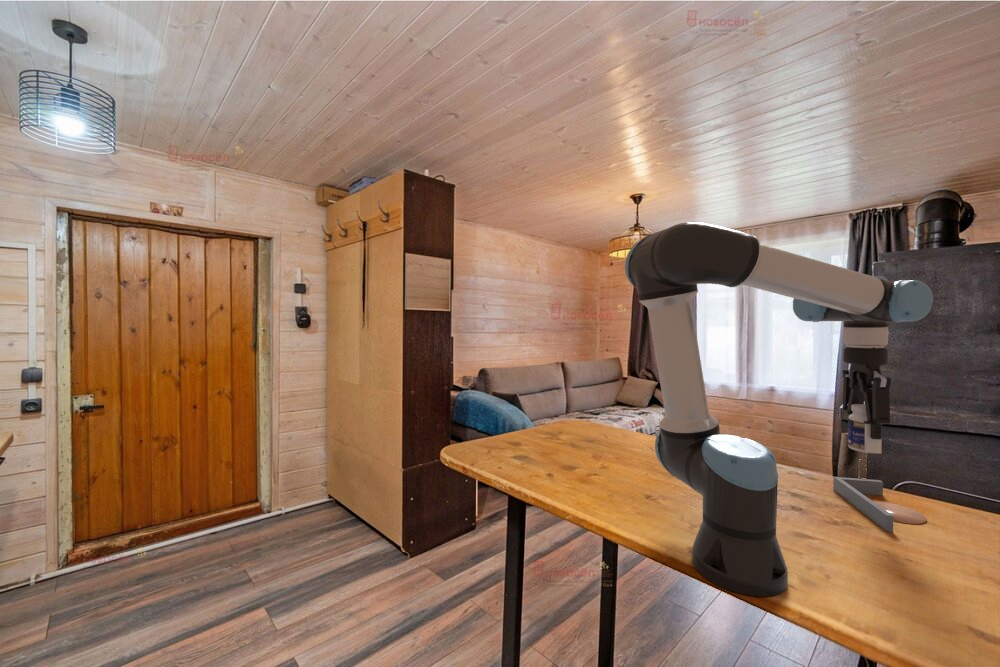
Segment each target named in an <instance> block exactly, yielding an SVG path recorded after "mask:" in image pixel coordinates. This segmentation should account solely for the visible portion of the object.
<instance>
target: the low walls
mask: <svg viewBox="0 0 1000 667" xmlns="http://www.w3.org/2000/svg"><path fill="white" fill-rule="evenodd" d="M832 481H833V486H832V487H833V491H834V492H836V494H838V495H839V496H840V497H842V498H843V499H844V500H846V501H847V502H848V503H849V504H851V505H852V506H853V507H854V508H856V510H859V512H861V513H862V514H863V515H865V516H866V517H867V518H868V519H870V520H871V521H873V523H875V524H876V525H877V526H878V527H880V528H881V529H882V530H884V531H885V532H889V533H894V521H893V515H891V514H890V513H889V512H887V511H886V510H884V509H883V508H882V507H880V506H879V505H877V504H876V503H875V502H876V501H873V500H871V499H870V498H869V497H867V496H866V495H870V496H873V495H874V496H884V493H883V492H884V482H883V481H882V480H879V479H868V478H857V477H856V478H855V477H854V478H853V477H852V478H851V477H840V476H833V480H832Z"/></svg>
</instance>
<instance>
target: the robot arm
mask: <svg viewBox="0 0 1000 667" xmlns="http://www.w3.org/2000/svg"><path fill="white" fill-rule="evenodd" d="M624 271H625V275H626V278H627V280H628V282H629V283H630V284H631V285H632V286H633V287H634V288H636V291H637V296H638V302H639V303H640V304H641V305H643V306H645V308H647V311H648V312H647V313H648V317H649V323H650V329H651V336H652V341H653V342H652V343H653V348H654V354H655V358H656V366H657V371H658V372H657V373H658V377H659V378H658V380H659V384H660V389H661V397H662V402H663V407H664V408H663V409H664V417H663V418H662V419H661V420H660V421H659V429H660V430H659V431H658V432H659V433H658V435H657V436H656V437H655V442H654V451H655V455H656V458H657V460H658V462H659V463H660V465H661V466H662V467H663V468H664V469H665V470H666V471H667V473H669V474H670V475H671V476H673V477H674V478H676V479H677V480H679V481H681V482H682V483H683V484H685V485H687V486H688V487H690V488H691V489H693V491H695V492H697V493H698V494H700V496H701V497H702V522H701V523H700V526H699V529H698V532H697V534H696V537H695V539H694V541H693V544H692V547H691V548H692V550H691V552H692V553H691V558H692V559H691V561H692V565H693V566H694V568H695V569H696V570H697V571H698V573H699V574H700V575H701V576H703V578H705V579H707V580H708V581H710V582H711V583H713V584H714V585H717V586H718V587H720V588H723V589H726V590H728V591H730V592H734V593H736V594H741V595H745V596H746V595H747V596H751V597H765V598H766V597H773V596H776V595H780V594H782V593H783V592H785V591H786V589H787V587H788V585H789V584H788V583H789V581H788V580H789V578H788V576H789V572H788V567H787V565H786V562H785V558H784V556H783V552H782V550H781V547H780V544H779V541H778V538H777V512H778V510H777V509H778V507H777V506H778V483H779V473H778V468H777V459H776V457H775V454H774V453H773V452H772V450H770V449H769V448H768V447H766V446H765V445H763V444H761V443H760V442H758V441H755V440H754V439H750V438H745V437H744V438H743V437H741V436H738V435H733V434H727V433H726V434H721V429H720V424H719V420H718V418H717V417H715V416H714V415H712V414H711V413H710V411H709V404H708V398H707V392H706V385H705V380H704V375H703V374H704V373H703V367H702V361H701V354H700V349H699V342H698V336H697V330H696V323H695V316H694V311H693V305H692V302H693V299H694V297H695V296H696V295H697V294H698V293H699V290H698V285H704V284H708V285H709V284H711V285H720V286H725V287H729V288H737V287H740V286H741V285H742V286H746V287H751V288H754V289H758V290H762V291H765V292H768V293H772V294H777V295H781V296H784V297H787V298H791V299H792V298H793V299H792V311H793V313H794V314H795V316H796V317H797V318H798V320H801V321H803V322H812V323H819V322H843V328H842V340H843V341H842V343H843V344H844V345H846V346H844V347H843V353H842V354H843V357H842V358H843V359H842V361H843V362H844V363H845V364H849V365H850V368H849V369H842V377H843V387H842V389H843V390H842V410H843V411H846V414H847V415H848V416H849V415H851V414H852V413H853V411H852V410H851V405H853V404H864V405H865V407H866V414H867V420H868V421H864V423H865V452H864V453H866V454H882V453H883V452H882V446H883V444H882V443H883V442H882V441H883V440H882V437H883V435H882V434H883V431H882V430H883V428H882V427H883V425H886V424H890V423H891V407H890V406H891V405H890V404H891V403H890V401H891V400H890V398H891V397H890V388H891V384H892V383H891V382H892V380H891V377H889V376H888V377H886V376H883V374H882V371H881V366H885V365H887V364H888V363H889V348H887V347H886V346H887V345H888V344H889V335H890V331H889V323H891V322H892V323H893V322H894V323H896V324H897V323H898V324H901V323H902V322H903V323H905V322H907V323H908V322H918V321H920V320H922V319H924V318H925V317H927V315H928V314H930V312H931V310H932V306H933V302H934V295H933V292H932V290H931V288H930V286H928V285H927V284H926V283H925V282H923V281H920V280H915V279H914V280H908V279H907V280H906V279H900V280H888V278H887V277H885V276H880V275H879V276H878V275H876V276H874V275H873V276H872V275H869V274H865V273H861V272H859V271H856V270H851V269H849V268H845V267H842V266H838V265H834V264H831V263H828V262H824V261H821V260H817V259H814V258H810V257H806V256H803V255H800V254H797V253H793V252H790V251H786V250H783V249H780V248H776V247H773V246H769V245H765V244H762V243H760V240H759V239H758V237H756V236H755V235H753V234H749V233H745V232H742V231H739V230H736V229H731V228H727V227H724V226H720V225H714V224H709V223H706V222H695V221H691V222H689V221H688V222H681V223H678V224H677V223H676V224H674V225H671V226H670V227H667V228H665V229H662V230H660V231H656V232H654V233H651V234H647V235H646V236H644V237H642V238H641V239H640V240H639V241H637V242H635V244H634V245H632V247H631V248H630V249H629V250H628V252H627V255H626V258H625V261H624ZM888 322H889V323H888Z"/></svg>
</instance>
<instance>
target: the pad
mask: <svg viewBox="0 0 1000 667" xmlns="http://www.w3.org/2000/svg"><path fill="white" fill-rule="evenodd" d="M874 502H875V503H876V504H877V505H879V506H880V507H882V508H883V509H884V510H886V511H887V512H889V513H890V514H891V515H893V522H898V523H902V524H903V523H904V524H910V525H920V524H925V523H926V522H927V517H926V516H925V515H924V514H922V513H921V512H919V511H917V510H916V509H912V508H911V507H910V508H909V507H908V506H907V507H906V506H903V505H900V504H895V503H890V502H884V501H874Z"/></svg>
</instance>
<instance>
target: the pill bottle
mask: <svg viewBox="0 0 1000 667" xmlns="http://www.w3.org/2000/svg"><path fill="white" fill-rule="evenodd" d="M851 410H852V411H853V413H852V414H851V415H848V419H847V421H848V422H847V446H848V448H849V449H851V450H853V451H855V452H856V451H857V452H861V453H866V452H865V423H864V421H868V420H867V414H866V407H865V403H864V404H853V405H851Z"/></svg>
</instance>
